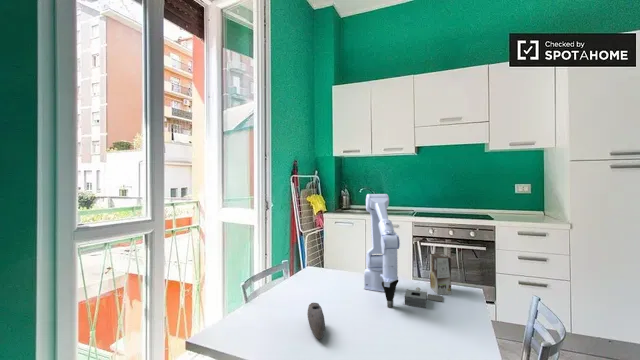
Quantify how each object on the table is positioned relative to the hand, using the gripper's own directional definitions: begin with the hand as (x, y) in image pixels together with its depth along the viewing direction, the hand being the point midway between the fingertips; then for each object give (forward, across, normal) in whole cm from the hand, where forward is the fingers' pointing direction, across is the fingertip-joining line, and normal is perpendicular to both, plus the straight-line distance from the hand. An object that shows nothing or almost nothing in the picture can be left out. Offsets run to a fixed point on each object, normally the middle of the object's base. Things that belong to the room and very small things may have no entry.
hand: (390, 299), depth 114 cm
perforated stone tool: (+3, +29, -19) cm, 35 cm away
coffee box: (+3, -26, +18) cm, 32 cm away
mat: (+3, -16, +16) cm, 22 cm away
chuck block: (+3, -12, +9) cm, 15 cm away
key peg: (+3, 0, 0) cm, 3 cm away
